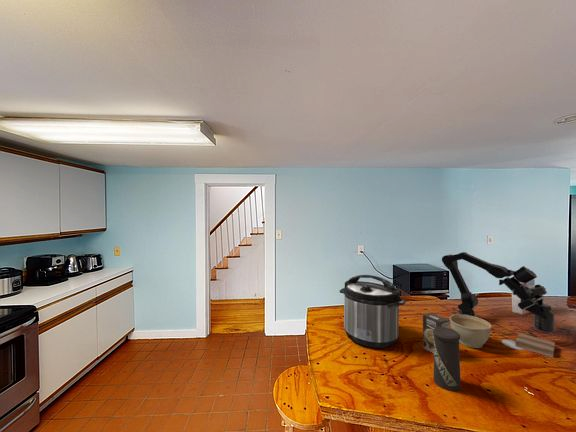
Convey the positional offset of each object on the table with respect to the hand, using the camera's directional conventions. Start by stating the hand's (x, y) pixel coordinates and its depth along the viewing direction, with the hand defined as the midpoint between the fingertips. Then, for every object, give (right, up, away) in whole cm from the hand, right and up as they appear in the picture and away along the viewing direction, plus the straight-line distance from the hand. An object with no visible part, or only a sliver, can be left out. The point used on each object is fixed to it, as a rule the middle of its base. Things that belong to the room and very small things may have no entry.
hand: (548, 316), depth 115 cm
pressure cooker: (-81, -15, +11) cm, 83 cm away
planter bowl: (-36, -14, +2) cm, 39 cm away
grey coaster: (-16, -14, 0) cm, 21 cm away
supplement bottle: (-1, -7, +1) cm, 7 cm away
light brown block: (-8, -13, -2) cm, 16 cm away
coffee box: (-57, -14, -4) cm, 58 cm away
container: (-65, -14, -25) cm, 72 cm away
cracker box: (+25, -13, +38) cm, 47 cm away
